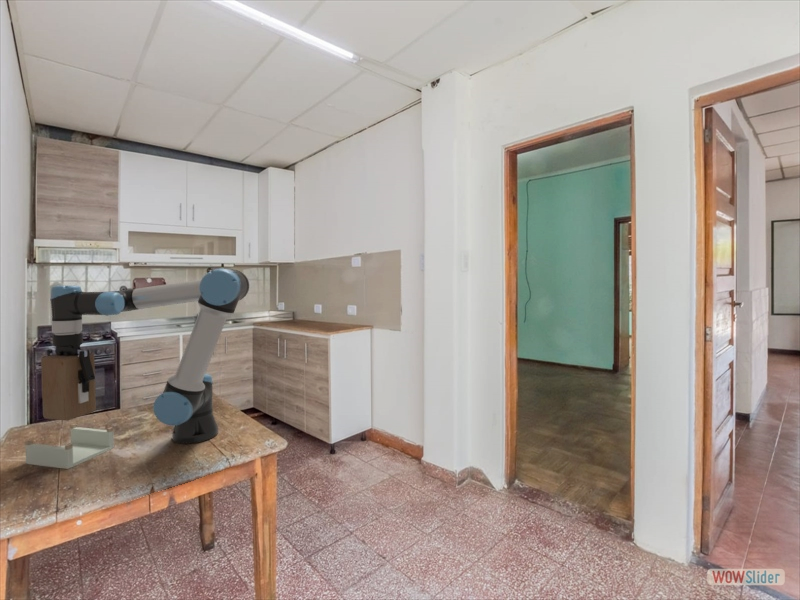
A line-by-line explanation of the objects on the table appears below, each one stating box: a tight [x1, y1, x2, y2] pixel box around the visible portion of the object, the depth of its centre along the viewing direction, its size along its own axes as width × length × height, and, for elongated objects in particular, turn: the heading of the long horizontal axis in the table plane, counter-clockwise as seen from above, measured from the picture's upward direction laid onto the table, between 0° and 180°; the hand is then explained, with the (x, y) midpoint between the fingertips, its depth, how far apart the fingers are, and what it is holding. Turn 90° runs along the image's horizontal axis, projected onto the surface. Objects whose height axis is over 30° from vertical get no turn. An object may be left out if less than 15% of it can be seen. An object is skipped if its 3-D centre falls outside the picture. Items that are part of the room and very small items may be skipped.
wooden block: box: [40, 352, 97, 422], centre depth 129 cm, size 10×10×20 cm
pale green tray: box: [25, 423, 115, 470], centre depth 130 cm, size 16×16×7 cm
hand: (70, 400), depth 129 cm, fingers closed on wooden block, 10 cm apart
